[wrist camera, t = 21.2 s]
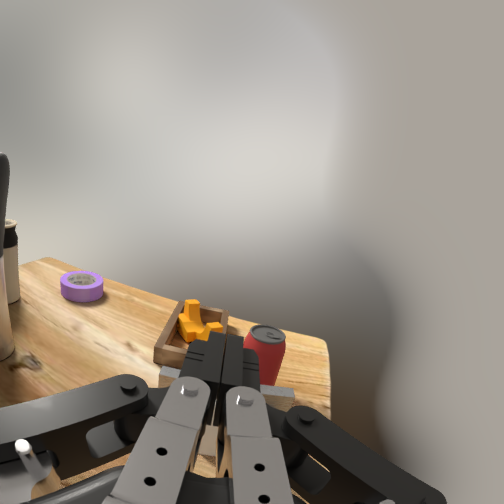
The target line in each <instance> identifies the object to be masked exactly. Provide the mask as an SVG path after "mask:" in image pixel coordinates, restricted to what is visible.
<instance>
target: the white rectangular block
mask: <svg viewBox="0 0 504 504" xmlns="http://www.w3.org/2000/svg"><path fill="white" fill-rule="evenodd" d="M215 405H216V402H215ZM214 412H215V408H214ZM213 420H214V413H213V418H212V423H211V426H210V425H206V430H205V434H204V435H203V436H202V441H201V445H200V449H199V454H203V455H209V456H215V457H216V438H217V434H218V427H216V426H213Z"/></svg>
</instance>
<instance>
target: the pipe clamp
mask: <svg viewBox="0 0 504 504" xmlns="http://www.w3.org/2000/svg"><path fill="white" fill-rule="evenodd" d="M177 330H178V332H179V333H180V334H181V336H182V337H183V339H184V340H185V341H186V342H193V341H194V340H195V339H199V340H204V341H208V337H209V333H210V331H215V332H220V333H222V331H223V326H222V325H221V324H220V323H219V322H213V323H206V327H205V328H204V326H203V324H202V321H201V318H200V303H199V302H198V301H197V300H185V307H184V313H180V314H179V316H178V325H177Z"/></svg>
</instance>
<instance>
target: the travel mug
mask: <svg viewBox="0 0 504 504" xmlns="http://www.w3.org/2000/svg"><path fill="white" fill-rule="evenodd" d="M16 225H17V222H16V221H14V220H9V219H5V233H4V242H3V258H4V274H5V285H6V294H7V303H8V304H11V303H13V302H15V301H17V300H18V299H19V298H20V287H19V273H18V248H17V247H18V244H17V243H18V241H17V240H18V237H17V235H16V232H15V227H16Z"/></svg>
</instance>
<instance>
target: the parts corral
mask: <svg viewBox="0 0 504 504" xmlns="http://www.w3.org/2000/svg"><path fill="white" fill-rule="evenodd" d="M184 307H185V302H183V301H179V302H178V304H177V306H176V308H175V309H174V311H173V313H172V315H171V317H170V318H169V320H168V322H167V324H166V326H165V328H164V329H163V331H162V333H161V335H160V337H159V339H158V340H157V342H156V344H155V346H154V360H153V362H154V363H158V364H162V365H166V366H170V367H175V368H179V369H181V368H182V365H183V362H184V359H185V356H186V353H187V349H182V348H178V347H174V346H170V344H171V342H172V340H173V337H174V335H175V333H176V331H177V325H178V316H179V314H180V313H184ZM228 316H229V311H226V310H221V309H216V308H211V307H206V306H201V305H200V318H201V321H202V322H204V323H213V322H219V323H220V324H221V325H222V326H223V331H222V333H225V334H226V330H227V323H228Z"/></svg>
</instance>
